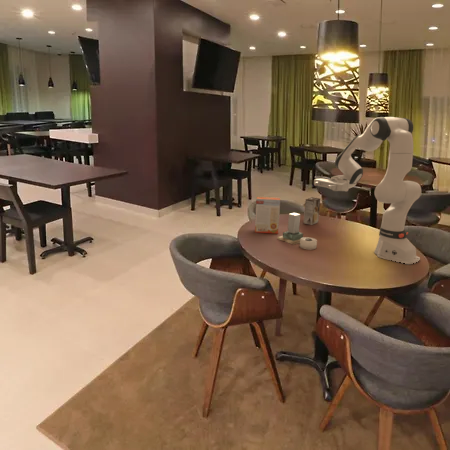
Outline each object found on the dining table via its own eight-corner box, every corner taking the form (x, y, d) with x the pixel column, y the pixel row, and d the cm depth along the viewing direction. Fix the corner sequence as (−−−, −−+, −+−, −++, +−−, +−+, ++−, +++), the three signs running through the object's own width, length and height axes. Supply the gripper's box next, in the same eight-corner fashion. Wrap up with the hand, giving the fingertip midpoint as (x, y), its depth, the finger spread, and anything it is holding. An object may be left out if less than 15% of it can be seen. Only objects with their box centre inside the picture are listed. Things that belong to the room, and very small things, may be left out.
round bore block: (319, 247, 230) (320, 240, 229) (309, 250, 225) (309, 243, 224) (306, 243, 237) (307, 236, 236) (296, 246, 231) (296, 238, 230)
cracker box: (277, 231, 257) (280, 197, 251) (278, 234, 251) (280, 199, 245) (254, 229, 258) (256, 196, 252) (254, 232, 252) (256, 198, 246)
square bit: (298, 238, 241) (300, 214, 237) (293, 239, 238) (295, 215, 234) (292, 236, 244) (294, 212, 240) (287, 237, 242) (288, 213, 238)
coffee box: (309, 220, 282) (311, 196, 278) (318, 222, 279) (320, 198, 274) (303, 223, 275) (305, 199, 271) (312, 225, 272) (314, 200, 267)
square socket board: (307, 240, 241) (308, 233, 240) (293, 244, 233) (293, 237, 232) (291, 235, 250) (292, 228, 248) (277, 238, 242) (278, 231, 241)
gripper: (322, 175, 257) (308, 177, 249) (351, 180, 242) (337, 183, 234) (321, 185, 259) (307, 187, 251) (350, 191, 244) (335, 194, 236)
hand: (321, 185), depth 242 cm, fingers open, 8 cm apart
